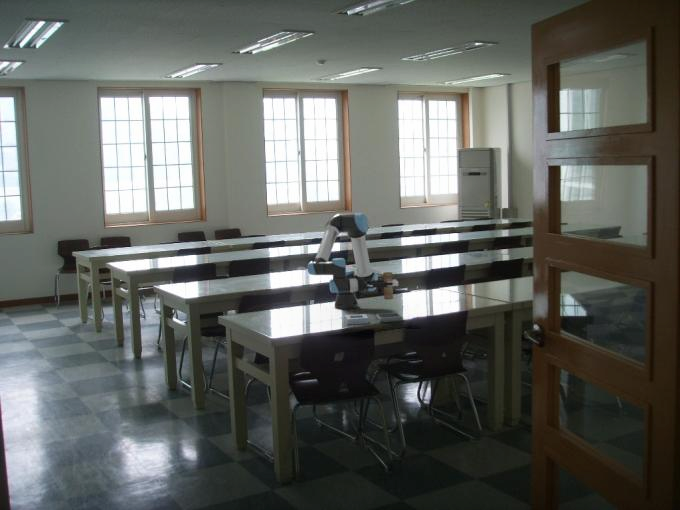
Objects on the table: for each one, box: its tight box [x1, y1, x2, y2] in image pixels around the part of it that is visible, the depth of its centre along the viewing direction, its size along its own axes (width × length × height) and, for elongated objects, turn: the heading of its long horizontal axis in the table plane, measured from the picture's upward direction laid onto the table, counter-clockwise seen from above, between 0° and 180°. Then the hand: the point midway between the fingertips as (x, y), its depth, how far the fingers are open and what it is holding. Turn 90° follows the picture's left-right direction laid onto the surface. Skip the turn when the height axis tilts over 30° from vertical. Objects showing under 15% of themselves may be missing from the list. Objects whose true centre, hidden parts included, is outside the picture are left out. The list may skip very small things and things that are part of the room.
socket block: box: [344, 313, 370, 325], centre depth 429 cm, size 12×12×3 cm
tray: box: [375, 312, 404, 323], centre depth 431 cm, size 13×13×2 cm
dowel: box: [383, 271, 394, 300], centre depth 429 cm, size 5×5×15 cm
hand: (397, 282), depth 429 cm, fingers closed on dowel, 5 cm apart
